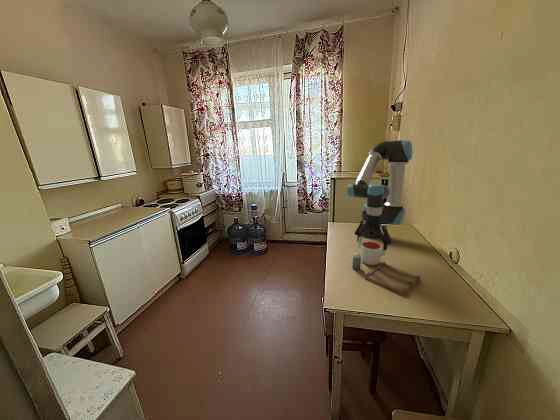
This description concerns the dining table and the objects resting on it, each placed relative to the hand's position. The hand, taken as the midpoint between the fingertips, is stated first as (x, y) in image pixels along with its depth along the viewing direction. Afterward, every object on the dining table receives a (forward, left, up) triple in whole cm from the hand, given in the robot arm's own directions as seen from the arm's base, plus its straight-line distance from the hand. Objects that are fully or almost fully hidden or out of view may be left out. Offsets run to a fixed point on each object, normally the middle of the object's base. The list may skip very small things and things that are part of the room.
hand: (370, 251), depth 124 cm
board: (+8, +16, -7) cm, 19 cm away
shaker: (+12, -1, -7) cm, 13 cm away
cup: (0, 0, -7) cm, 7 cm away
